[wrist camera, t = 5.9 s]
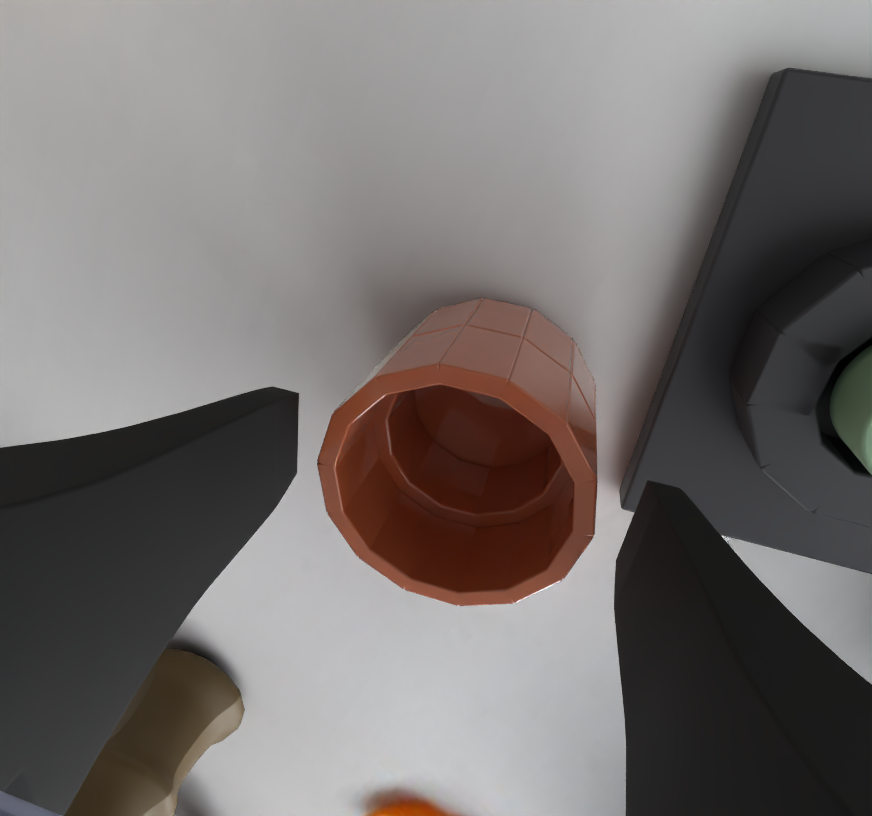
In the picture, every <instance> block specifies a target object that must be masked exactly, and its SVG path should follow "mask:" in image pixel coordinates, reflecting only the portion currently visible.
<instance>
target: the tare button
mask: <svg viewBox="0 0 872 816" xmlns="http://www.w3.org/2000/svg"><path fill="white" fill-rule="evenodd" d="M830 416H831V420H832V424H833V426H834V428H835V430H836V432H837V433H838V435H839V436H840V438H841V439H842V440H843V441H844V443H845V444H846V445H847V446H848V447H849V449H850V450H851V451H852V452H853V453H854V455H855V456H856V457H857V458H858V459H859V461H860V462H861V463H862V464H863V465H864V467H865V468H866V469H867V470H868V471H869V473H870V474H871V475H872V345H871V346H869V347H868V348H866V349H865V350H863V351H862V352H861V353H860V354H858V355H857V356H856V357H855V358H854V359H853V360H852V361H851V362H850V363H849V364H848V365H847V366H846V368H845V369H844V370H843V371H842V373H841V374H840V376H839V378H838V379H837V381H836V383H835V386H834V388H833V391H832V395H831V399H830Z"/></svg>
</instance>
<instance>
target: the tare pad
mask: <svg viewBox="0 0 872 816" xmlns="http://www.w3.org/2000/svg"><path fill="white" fill-rule="evenodd" d="M871 345H872V78H864V77H857V76H849V75H841V74H834V73H826V72H818V71H811V70H803V69H795V68H787V69H783V70H781V71H778V72H775V73H773V74H772V76H771V77H770V80H769V82H768V85H767V88H766V91H765V93H764V96H763V99H762V102H761V104H760V107H759V110H758V113H757V115H756V118H755V121H754V123H753V126H752V129H751V132H750V134H749V137H748V140H747V143H746V145H745V148H744V151H743V154H742V156H741V159H740V162H739V165H738V167H737V170H736V173H735V175H734V178H733V181H732V184H731V186H730V189H729V192H728V195H727V197H726V200H725V203H724V206H723V208H722V211H721V214H720V217H719V219H718V222H717V225H716V227H715V230H714V233H713V236H712V238H711V241H710V244H709V247H708V249H707V252H706V255H705V258H704V260H703V263H702V266H701V269H700V271H699V274H698V277H697V279H696V282H695V285H694V288H693V290H692V293H691V296H690V299H689V301H688V304H687V307H686V310H685V312H684V315H683V318H682V321H681V323H680V326H679V329H678V331H677V334H676V337H675V340H674V342H673V345H672V348H671V351H670V353H669V356H668V359H667V362H666V364H665V367H664V370H663V372H662V375H661V378H660V381H659V383H658V386H657V389H656V392H655V394H654V397H653V400H652V403H651V405H650V408H649V411H648V414H647V416H646V419H645V422H644V424H643V427H642V430H641V433H640V435H639V438H638V441H637V444H636V446H635V449H634V452H633V455H632V457H631V460H630V463H629V466H628V468H627V471H626V474H625V476H624V479H623V482H622V485H621V487H620V502H621V508H622V509H624V510H628V511H631V512H635V511H636V508H637V505H638V503H639V500H640V498H641V495H642V493H643V490H644V488H645V485H646V482H647V480H650V481H654V482H658V483H662V484H666V485H670V486H674V487H678V488H681V489H682V490H683V491H684V492H685V493H686V494H687V496H688V497H689V498H690V499H691V500H692V501H693V502H694V504H695V505H696V506H697V507H698V508H699V510H700V511H701V512H702V513H703V515H704V516H705V517H706V518H707V519H708V521H709V522H710V523H711V524H712V525H713V527H714V528H715V529H716V530H717V532H718V533H719V534H720V535H724V536H728V537H732V538H735V539H739V540H743V541H747V542H751V543H755V544H758V545H762V546H766V547H770V548H774V549H778V550H782V551H785V552H789V553H793V554H797V555H801V556H805V557H809V558H812V559H816V560H820V561H824V562H828V563H832V564H835V565H839V566H843V567H847V568H851V569H855V570H859V571H862V572H866V573H870V574H872V475H871V474H870V473H869V471H868V470H867V469H866V468H865V467H864V465H863V464H862V463H861V462H860V461H859V459H858V458H857V457H856V456H855V455H854V453H853V452H852V451H851V450H850V449H849V447H848V446H847V445H846V444H845V443H844V441H843V440H842V439H841V438H840V436H839V435H838V433H837V432H836V430H835V428H834V426H833V424H832V420H831V416H830V399H831V395H832V391H833V388H834V386H835V383H836V381H837V379H838V378H839V376H840V374H841V373H842V371H843V370H844V369H845V368H846V366H847V365H848V364H849V363H850V362H851V361H852V360H853V359H854V358H855V357H856V356H857V355H858V354H860V353H861V352H862V351H863V350H865V349H866V348H868V347H869V346H871Z"/></svg>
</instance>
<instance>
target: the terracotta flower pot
mask: <svg viewBox="0 0 872 816" xmlns="http://www.w3.org/2000/svg"><path fill="white" fill-rule="evenodd" d="M317 462H318V463H317V466H318V471H319V476H320V481H321V486H322V491H323V496H324V501H325V506H326V511H327V512H328V515H329V517H330V518H331V520H332V521H333V523H334V524H335V525H336V527H337V528H338V530H339V531H340V533H341V534H342V535H343V537H344V538H345V540H346V541H347V543H348V544H349V545H350V547H351V548H352V550H353V551H354V553H355V554H356V555H357V556H359V558H360V559H361V560H362V561H364V562H365V563H367V564H368V565H369V566H371V567H372V568H374V569H375V570H377V571H378V572H379V573H381V574H382V575H384V576H385V577H387V578H388V579H389V580H391V581H392V582H394V583H395V584H396V585H398V586H399V587H401V588H402V589H404V588H405V590H406V591H410V592H413V593H416V594H420V595H423V596H426V597H430V598H433V599H436V600H440V601H443V602H446V603H450V604H453V605H456V606H457V605H459V606H472V605H493V604H513V603H514V602H515V603H517V602H519V601H521V600H523V599H525V598H527V597H529V596H531V595H533V594H535V593H537V592H539V591H542V590H544V589H546V588H548V587H550V586H552V585H554V584H556V583H558V582H560V581H562V579H564V578H565V577H566V575H567V574H568V573H569V571H570V570H571V568H572V567H573V566H574V564H575V563H576V561H577V560H578V559H579V557H580V556H581V554H582V553H583V552H584V550H585V549H586V547H587V546H588V545H589V543H590V542H591V540H592V539H593V536H594V534H595V518H596V498H597V437H596V389H595V384H594V379H593V377H592V375H591V373H590V371H589V369H588V367H587V365H586V363H585V361H584V359H583V356H582V354H581V352H580V350H579V348H578V346H577V344H576V343H575V342H574V341H573V339H572V337H570V336H569V335H568V334H566V333H565V332H564V331H562V330H561V329H560V328H559V327H557V326H556V325H555V324H553V323H552V322H551V321H549V320H548V319H547V318H545V317H544V316H543V315H541V314H540V313H539V312H537V311H536V310H532V309H531V308H528V307H524V306H519V305H514V304H509V303H504V302H500V301H495V300H490V299H481V298H480V299H476V300H471V301H467V302H463V303H459V304H455V305H451V306H447V307H443V308H439V309H437V310H436V311H434V312H432V313H431V314H430V315H429V316H427V317H426V318H425V319H424V320H423V321H422V322H421V323H419V324H418V325H417V326H416V327H415V328H414V329H413V330H411V331H410V332H409V333H408V334H407V335H406V336H405V337H404V338H403V339H402V340H401V341H400V342H399V343H398V344H397V345H396V346H395V347H394V348H393V349H392V350H391V351H390V352H389V354H388V355H387V356H386V357H385V358H384V359H383V360H382V361H381V362H380V363H379V364H378V365H377V367H376V368H374V369H373V370H372V371H371V372H370V373H369V375H368V376H367V377H366V378H365V379H364V380H363V381H362V382H361V383H360V384H359V385H358V386H357V387H356V388H355V389H354V390H353V392H352V393H351V394H350V395H349V396H348V397H347V398H346V399H345V400H344V401H343V402H342V403H341V404H340V405H339V406H338V408H337V409H336V410H335V411H334V413H333V414H332V416H331V419H330V422H329V425H328V428H327V432H326V435H325V438H324V441H323V444H322V447H321V450H320V453H319V456H318V459H317Z"/></svg>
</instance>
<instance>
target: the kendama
mask: <svg viewBox="0 0 872 816" xmlns="http://www.w3.org/2000/svg"><path fill="white" fill-rule="evenodd" d="M244 711H245V709H244V705H243V701H242V697H241V694H240V691H239V689H238V688H237V686H236V685H235V684H234V683H233V681H232V680H231V679H230V677H229V676H228V675H227V674H226V673H225V672H223V671H222V670H221V669H219V668H218V667H217V666H216V665H214V664H213V663H212V662H211V661H209V660H207V659H204V658H202V657H200V656H198V655H196V654H194V653H192V652H188V651H183V650H177V649H172V648H168V649H164V651H163V652H162V654H161V655H160V657H159V658H158V660H157V661H156V663H155V664H154V666H153V668H152V669H151V671H150V672H149V674H148V675H147V677H146V678H145V680H144V681H143V683H142V685H141V686H140V688H139V689H138V691H137V692H136V694H135V695H134V697H133V699H132V700H131V702H130V704H129V705H128V707H127V709H126V710H125V712H124V714H123V715H122V717H121V719H120V720H119V722H118V724H117V725H116V727H115V728H114V730H113V732H112V733H111V735H110V737H109V738H108V740H107V742H106V743H105V745H104V747H103V748H102V750H101V752H100V753H99V755H98V757H97V759H96V760H95V762H94V764H93V766H92V767H91V769H90V771H89V773H88V774H87V776H86V778H85V780H84V781H83V783H82V785H81V787H80V789H79V790H78V792H77V794H76V796H75V797H74V799H73V801H72V803H71V804H70V806H69V808H68V810H67V812H66V813H65V815H64V816H174V814H175V810H176V806H177V802H178V790H179V788H180V786H181V784H182V782H183V781H184V779H185V777H186V776H187V774H188V773H189V771H190V770H191V768H192V767H193V766H194V764H195V763H196V762H197V760H198V759H199V758H200V757H201V756H202V754H203V753H204V752H205V751H206V750H207V749H208V748H209V747H210V746H211V745H213V744H215V743H218V742H220V741H223V740H224V739H225V738H226V737H228V736H229V735H230V734H231V733H233V732H234V731H235V730H236V729H238V727H239V725H240V723H241V720H242V717H243V714H244Z"/></svg>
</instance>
